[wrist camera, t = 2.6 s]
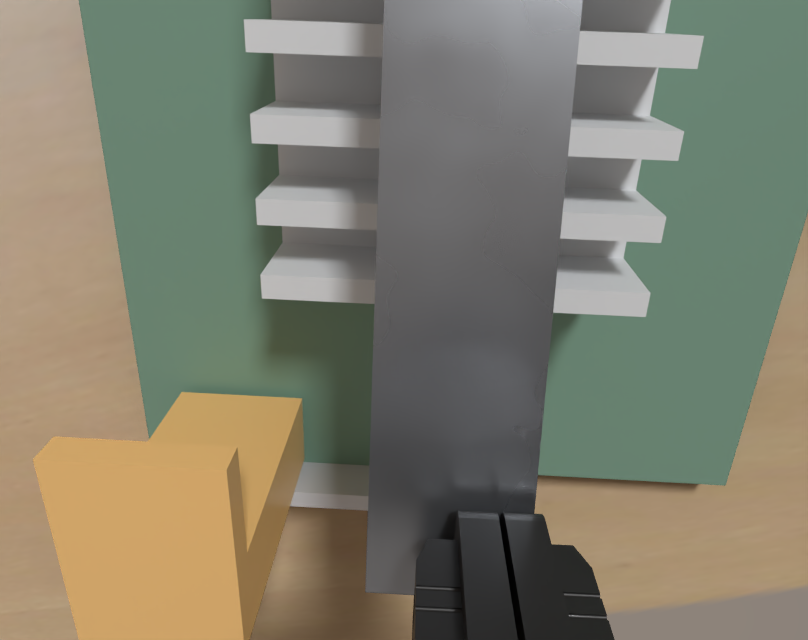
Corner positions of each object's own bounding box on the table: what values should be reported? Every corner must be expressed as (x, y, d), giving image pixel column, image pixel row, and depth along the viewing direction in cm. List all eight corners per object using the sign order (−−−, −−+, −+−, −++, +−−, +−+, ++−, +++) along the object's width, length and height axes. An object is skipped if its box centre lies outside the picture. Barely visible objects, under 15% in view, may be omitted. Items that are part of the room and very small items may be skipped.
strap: (633, -449, 9) (657, -522, 8) (534, 573, 13) (542, 606, 12) (382, -453, 9) (376, -525, 8) (354, 563, 13) (348, 594, 12)
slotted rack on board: (983, -488, 13) (1707, -1158, 6) (708, 477, 24) (836, 694, 16) (26, -500, 14) (-470, -1125, 6) (166, 447, 24) (42, 642, 17)
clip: (298, 315, 20) (226, 470, 13) (304, 458, 22) (245, 653, 15) (170, 308, 20) (32, 459, 13) (189, 451, 22) (79, 643, 16)
